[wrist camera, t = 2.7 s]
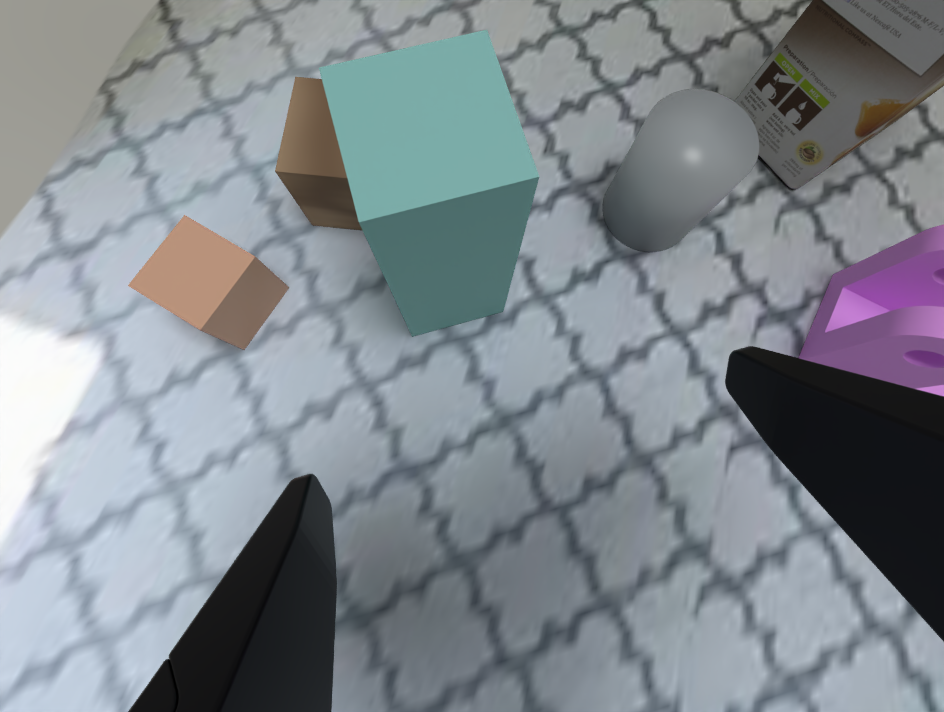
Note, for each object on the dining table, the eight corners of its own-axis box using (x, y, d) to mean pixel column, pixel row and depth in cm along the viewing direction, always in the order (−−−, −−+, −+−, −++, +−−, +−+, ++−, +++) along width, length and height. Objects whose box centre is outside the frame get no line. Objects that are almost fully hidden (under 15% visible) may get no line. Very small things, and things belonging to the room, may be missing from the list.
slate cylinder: (697, 184, 26) (766, 104, 20) (682, 262, 25) (750, 203, 19) (612, 162, 26) (655, 77, 20) (593, 238, 25) (633, 173, 19)
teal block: (476, 229, 25) (486, 29, 13) (503, 311, 24) (539, 176, 12) (389, 251, 24) (319, 67, 13) (412, 336, 23) (358, 222, 12)
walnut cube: (413, 155, 26) (401, 86, 21) (402, 234, 25) (386, 181, 20) (327, 147, 26) (295, 76, 21) (312, 226, 25) (275, 171, 20)
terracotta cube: (289, 288, 24) (255, 256, 20) (245, 350, 23) (200, 330, 19) (229, 252, 24) (184, 215, 21) (184, 312, 24) (127, 285, 20)
